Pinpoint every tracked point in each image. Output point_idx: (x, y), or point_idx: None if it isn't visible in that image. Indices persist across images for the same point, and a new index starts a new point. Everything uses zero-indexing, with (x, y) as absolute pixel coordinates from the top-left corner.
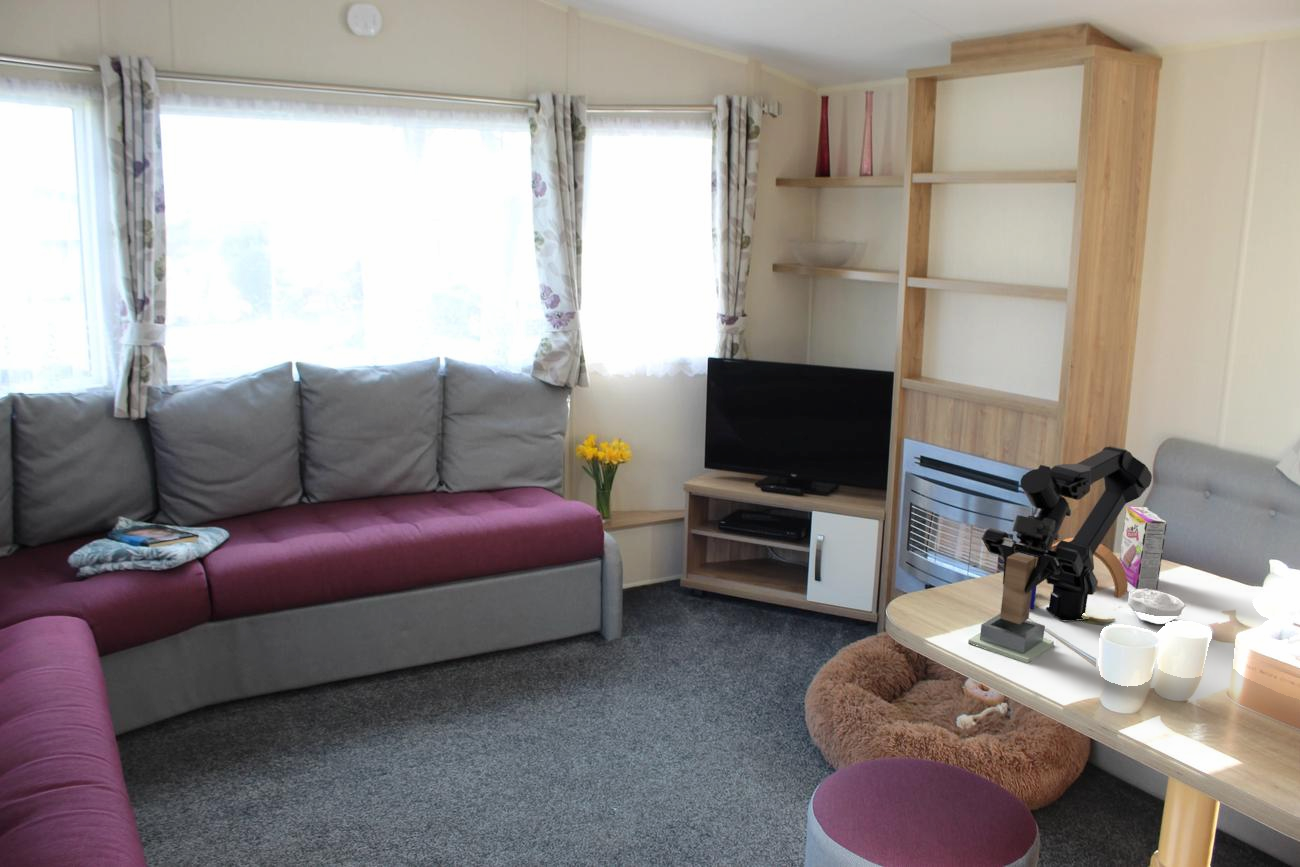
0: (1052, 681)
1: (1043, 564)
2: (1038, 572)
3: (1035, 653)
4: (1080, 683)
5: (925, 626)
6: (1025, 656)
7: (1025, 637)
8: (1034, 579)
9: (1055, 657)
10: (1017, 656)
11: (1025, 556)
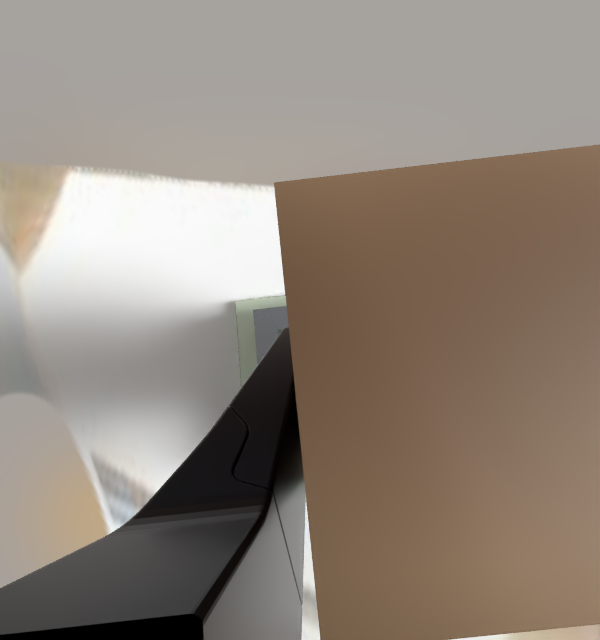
0: (139, 260)
1: (125, 536)
2: (216, 437)
3: (240, 357)
4: (81, 309)
5: None
6: (249, 312)
7: (257, 319)
8: (246, 383)
9: (203, 413)
10: (266, 298)
11: (527, 504)
